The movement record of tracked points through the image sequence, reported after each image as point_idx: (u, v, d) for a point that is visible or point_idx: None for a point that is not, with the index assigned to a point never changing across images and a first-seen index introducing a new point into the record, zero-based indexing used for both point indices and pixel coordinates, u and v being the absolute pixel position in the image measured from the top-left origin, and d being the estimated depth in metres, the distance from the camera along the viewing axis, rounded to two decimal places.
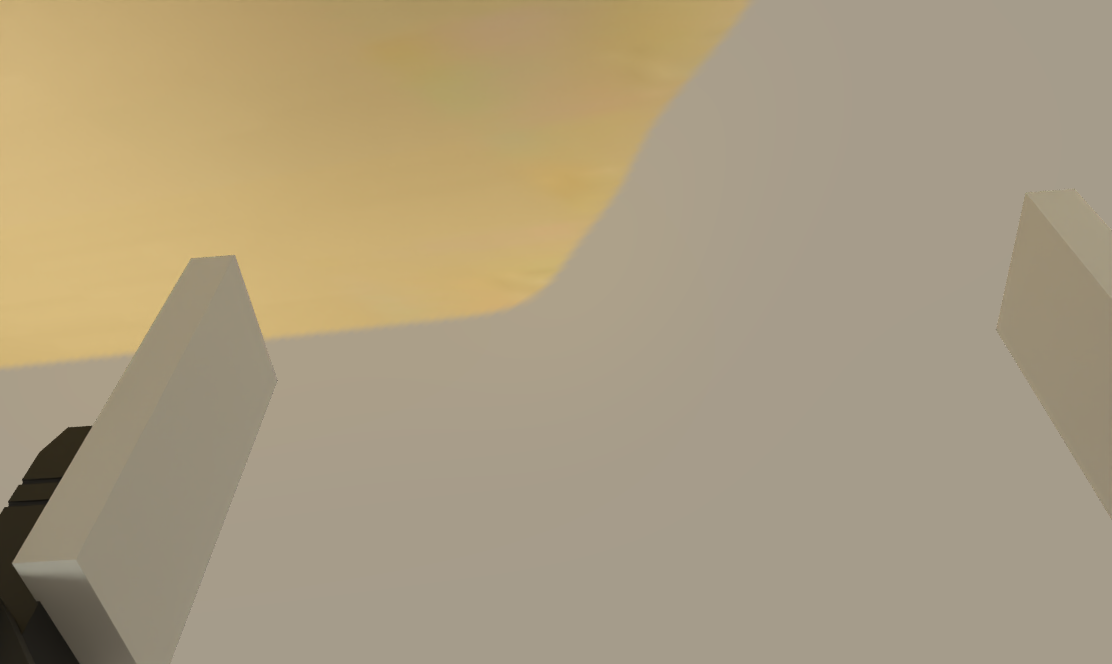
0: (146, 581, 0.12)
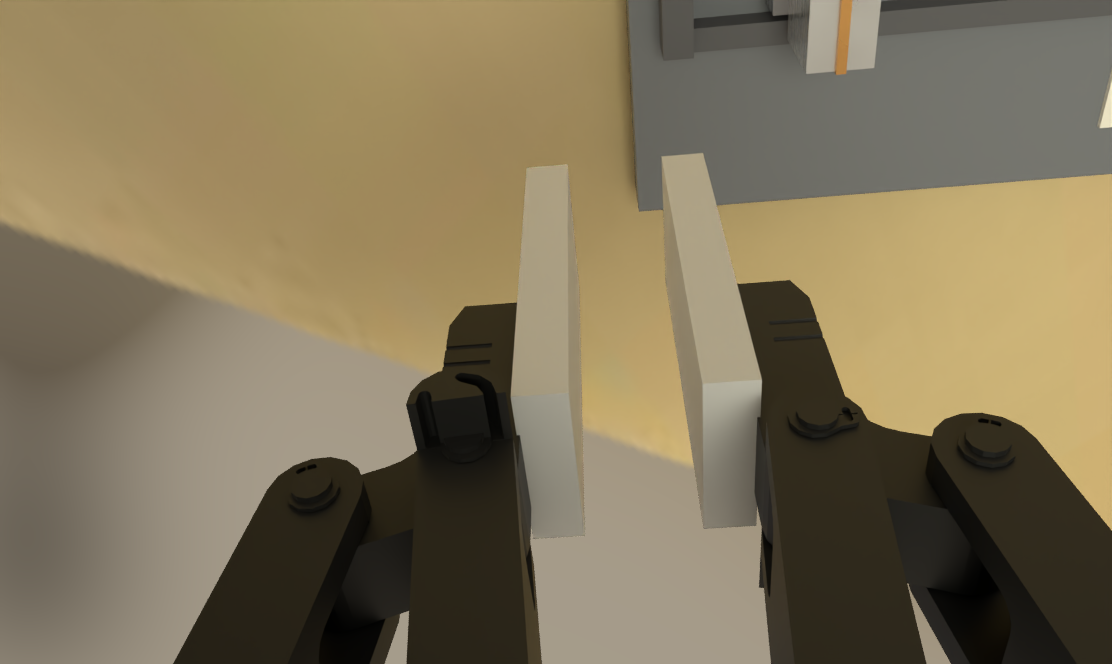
0: (577, 430, 0.14)
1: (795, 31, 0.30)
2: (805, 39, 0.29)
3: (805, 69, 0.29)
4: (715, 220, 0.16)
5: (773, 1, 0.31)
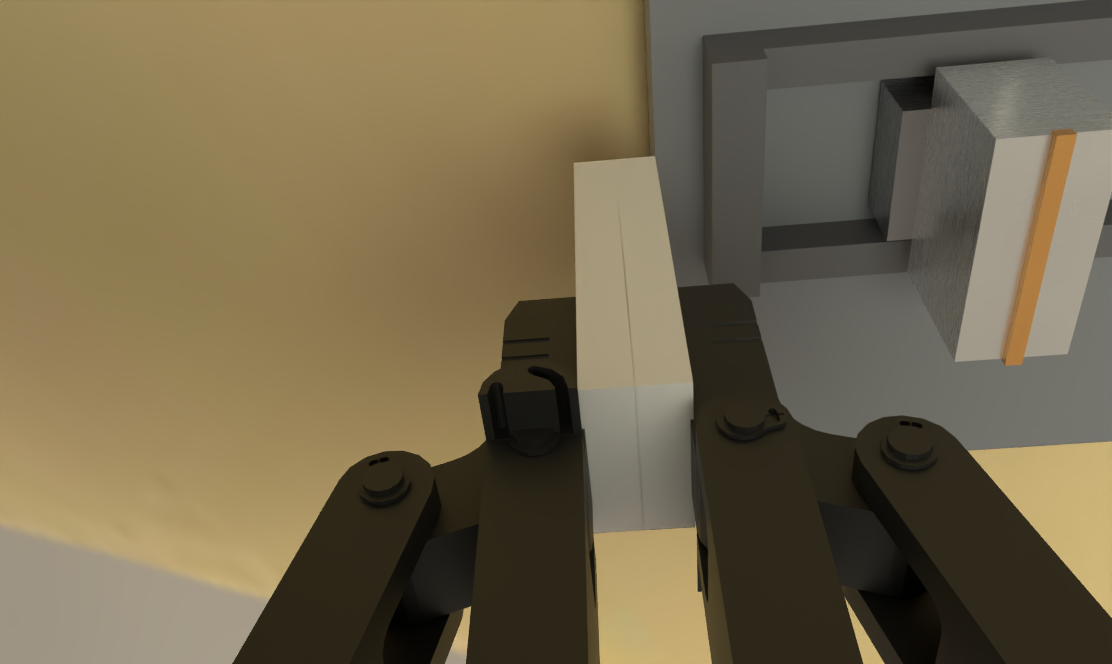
0: None
1: (929, 277, 0.19)
2: (955, 309, 0.17)
3: (953, 353, 0.18)
4: (661, 223, 0.16)
5: (889, 220, 0.19)
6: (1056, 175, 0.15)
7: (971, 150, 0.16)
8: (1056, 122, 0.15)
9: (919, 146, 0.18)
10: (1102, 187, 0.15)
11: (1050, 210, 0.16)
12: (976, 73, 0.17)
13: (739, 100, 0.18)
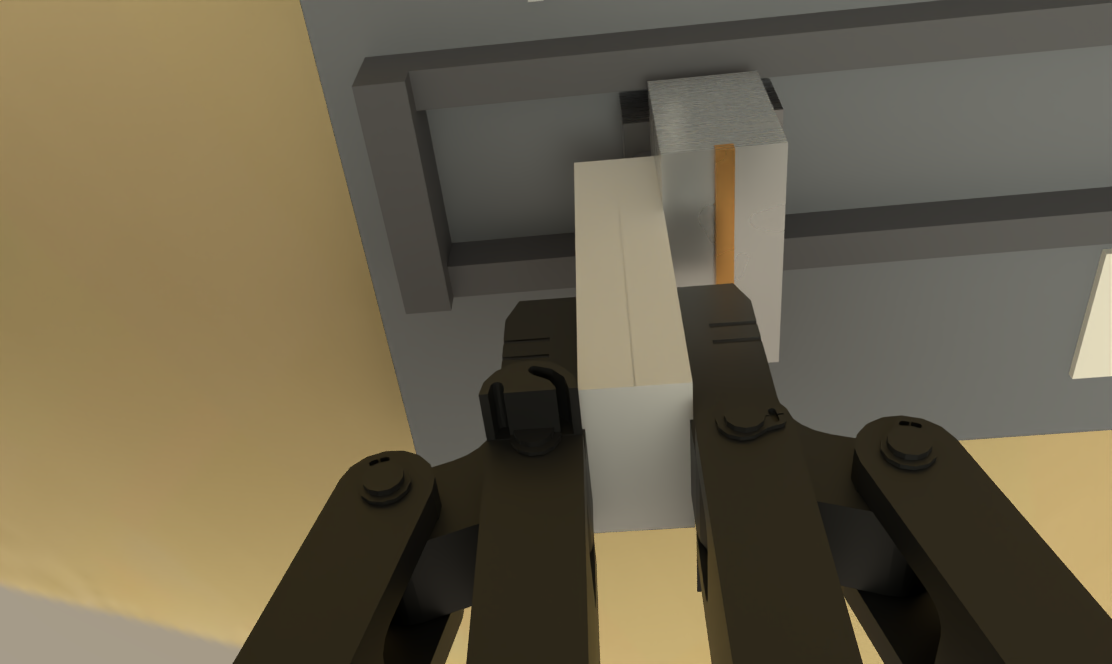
0: None
1: None
2: None
3: None
4: (660, 223, 0.16)
5: None
6: (723, 189, 0.16)
7: (657, 164, 0.16)
8: (724, 136, 0.16)
9: None
10: (775, 200, 0.16)
11: (726, 222, 0.16)
12: (680, 87, 0.17)
13: (386, 121, 0.18)
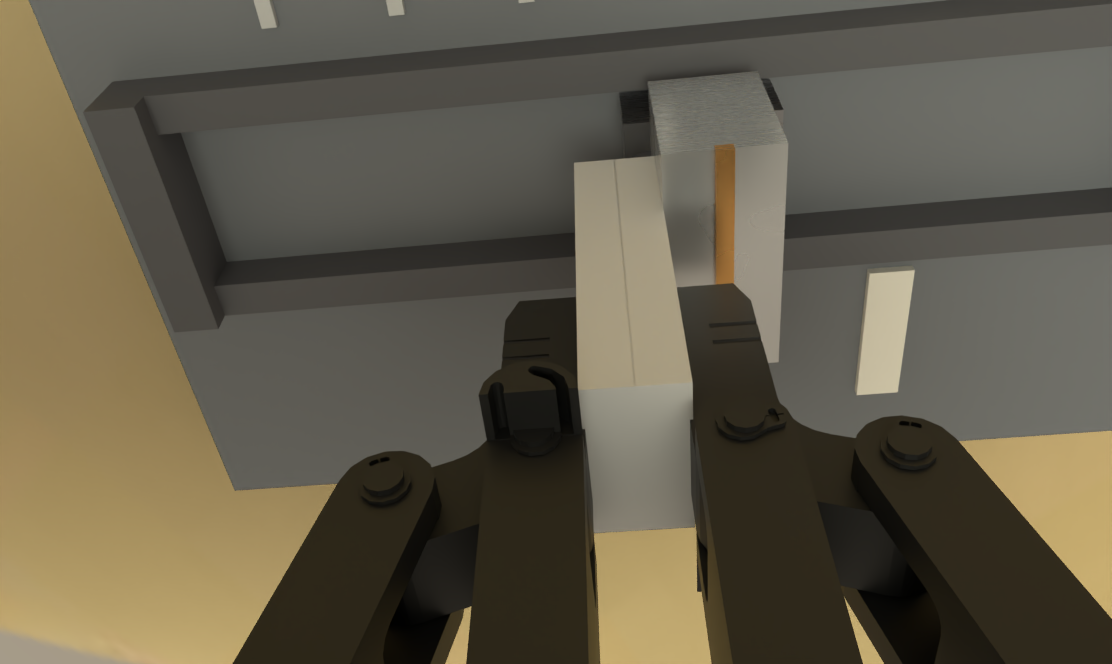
0: None
1: None
2: None
3: None
4: (660, 223, 0.16)
5: None
6: (724, 189, 0.16)
7: (658, 164, 0.16)
8: (724, 137, 0.16)
9: None
10: (775, 200, 0.16)
11: (726, 223, 0.16)
12: (680, 87, 0.17)
13: (122, 146, 0.19)
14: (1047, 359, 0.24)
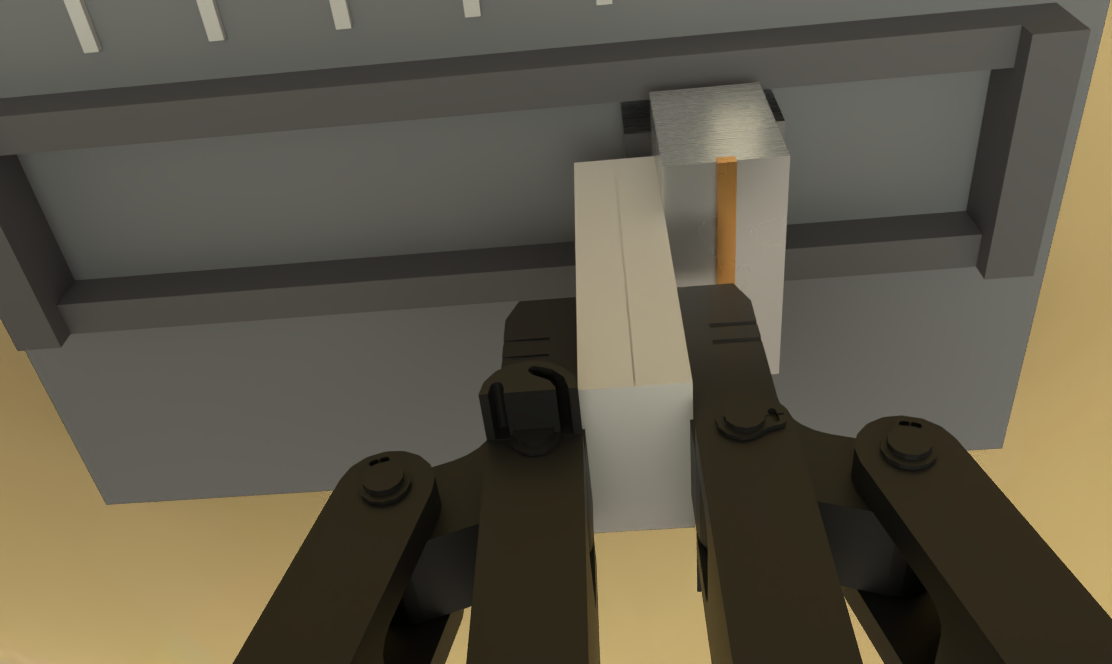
0: None
1: None
2: None
3: None
4: (660, 223, 0.16)
5: None
6: (725, 201, 0.15)
7: (659, 175, 0.16)
8: (727, 149, 0.16)
9: None
10: (777, 212, 0.16)
11: (727, 234, 0.16)
12: (682, 98, 0.17)
13: None
14: (898, 380, 0.24)
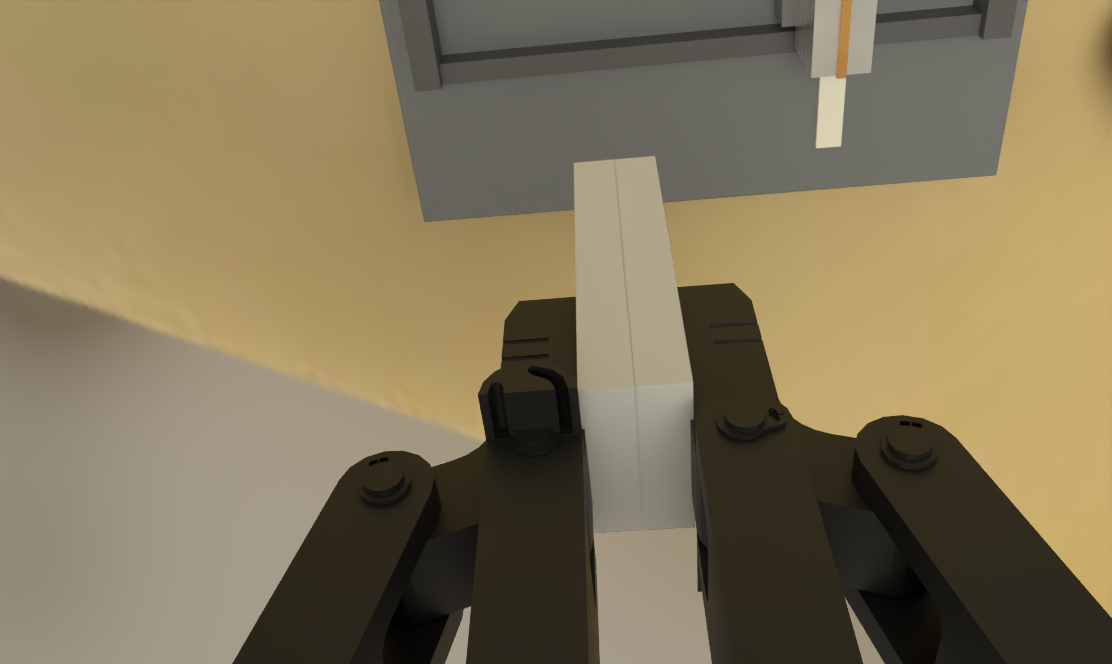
0: None
1: (801, 41, 0.34)
2: (810, 48, 0.33)
3: (810, 74, 0.33)
4: (661, 223, 0.16)
5: (782, 14, 0.35)
6: None
7: None
8: None
9: None
10: None
11: None
12: None
13: None
14: (931, 124, 0.39)
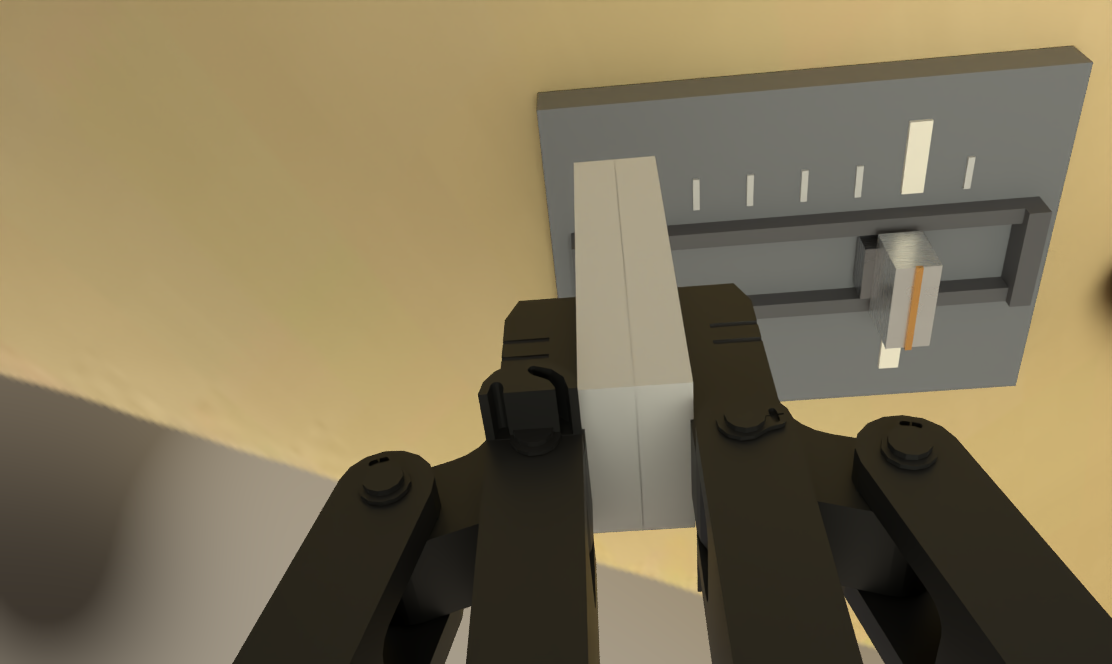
0: None
1: (876, 314, 0.46)
2: (885, 328, 0.45)
3: (884, 345, 0.45)
4: (661, 223, 0.16)
5: (861, 290, 0.47)
6: (918, 281, 0.43)
7: (889, 270, 0.43)
8: (918, 262, 0.43)
9: (872, 262, 0.46)
10: (935, 285, 0.43)
11: (917, 293, 0.43)
12: (893, 237, 0.44)
13: None
14: (967, 352, 0.51)
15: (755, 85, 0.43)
